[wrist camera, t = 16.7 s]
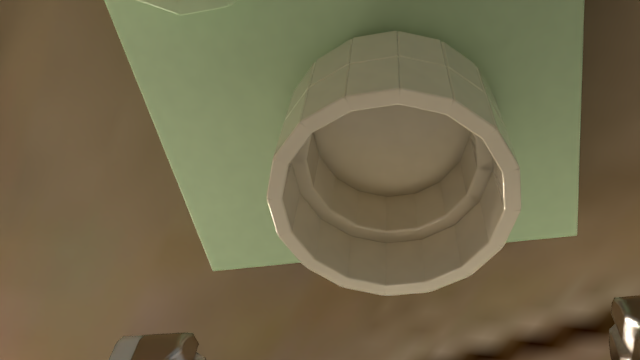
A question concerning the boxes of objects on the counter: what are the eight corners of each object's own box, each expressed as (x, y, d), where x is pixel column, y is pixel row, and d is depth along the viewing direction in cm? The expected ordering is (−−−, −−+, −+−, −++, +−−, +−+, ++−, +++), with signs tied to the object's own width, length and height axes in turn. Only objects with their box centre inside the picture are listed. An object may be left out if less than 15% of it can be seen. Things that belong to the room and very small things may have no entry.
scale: (61, -198, 17) (-5, -194, 14) (570, -335, 15) (617, -364, 12) (224, 238, 26) (203, 296, 23) (563, 202, 23) (588, 261, 20)
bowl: (267, 45, 19) (238, 111, 15) (488, 8, 17) (517, 70, 14) (312, 216, 22) (298, 304, 18) (499, 195, 21) (523, 285, 17)
